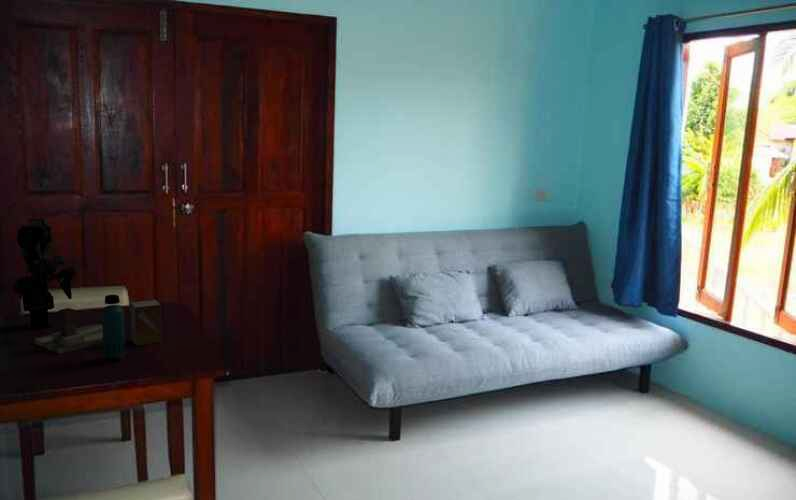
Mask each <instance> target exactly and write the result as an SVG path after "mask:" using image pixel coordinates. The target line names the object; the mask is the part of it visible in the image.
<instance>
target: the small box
mask: <svg viewBox="0 0 796 500" xmlns="http://www.w3.org/2000/svg"><path fill="white" fill-rule="evenodd" d="M161 308H162V307H161V304H160V303H159V302H158V300H156V299H154V300H143V301H135V302H130V327H131V328H130V331H131V334H130V335H131V341H132V343H133V344H134V345H135V346H137V347H138V346H145V345H153V344H162V321H161V320H162V319H161V315H162V314H161V312H162V310H161Z"/></svg>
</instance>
